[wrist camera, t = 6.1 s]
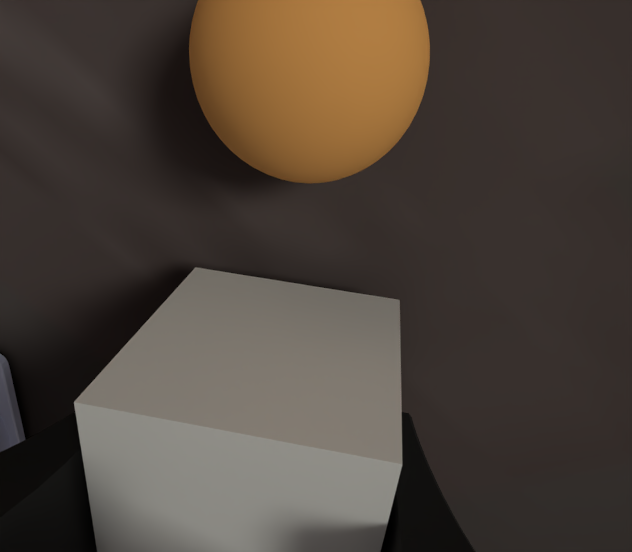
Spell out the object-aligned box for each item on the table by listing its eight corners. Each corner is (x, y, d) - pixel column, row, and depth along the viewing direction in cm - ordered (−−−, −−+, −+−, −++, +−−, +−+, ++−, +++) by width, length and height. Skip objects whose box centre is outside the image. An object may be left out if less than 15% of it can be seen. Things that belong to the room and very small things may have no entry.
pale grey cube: (368, 454, 16) (354, 654, 11) (197, 422, 17) (104, 598, 11) (399, 300, 14) (402, 464, 8) (195, 267, 14) (73, 401, 9)
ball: (403, 169, 13) (406, 231, 9) (230, 144, 14) (151, 192, 9) (443, -44, 11) (474, -101, 7) (234, -65, 12) (134, -133, 7)
